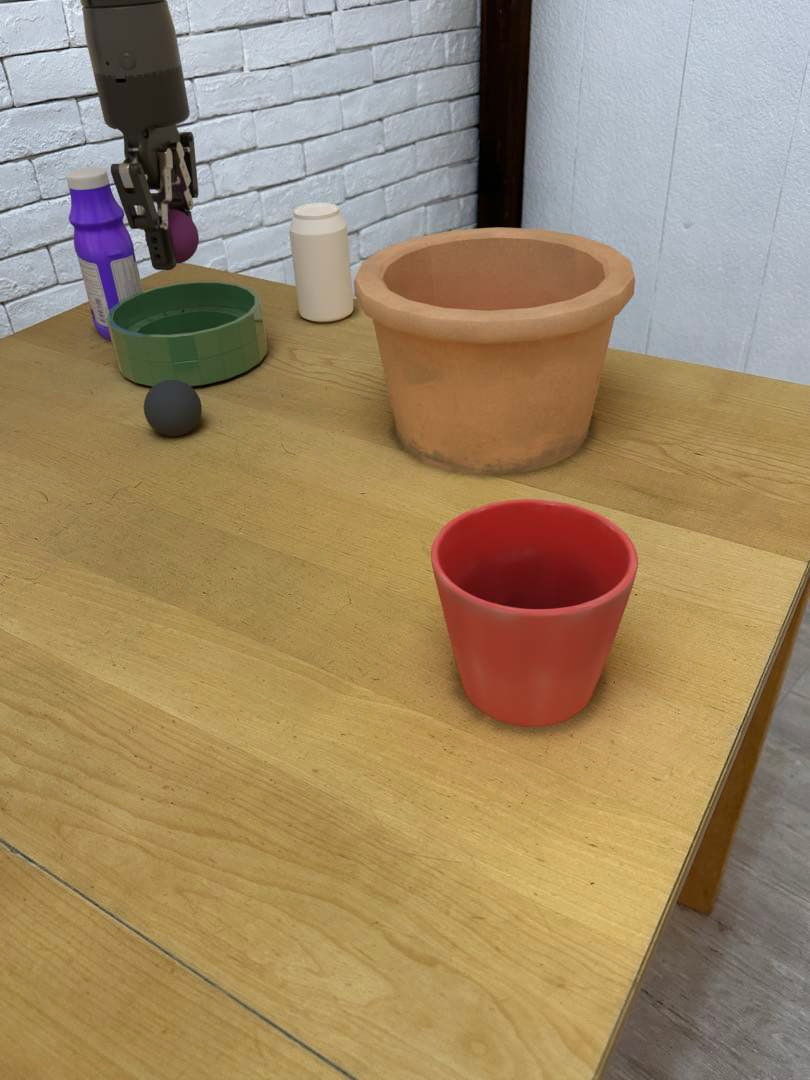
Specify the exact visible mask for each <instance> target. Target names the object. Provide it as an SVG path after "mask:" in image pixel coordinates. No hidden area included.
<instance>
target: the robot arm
mask: <svg viewBox="0 0 810 1080" xmlns="http://www.w3.org/2000/svg"><path fill="white" fill-rule="evenodd" d="M79 1H80V5H81V6H82V7H81V11H82V17H83V27H84V35H85V41H86V47H87V51H88V57H89V60H90V64H91V68H92V73H93V78H94V81H95V86H96V91H97V95H98V100H99V104H100V108H101V112H102V117H103V121H104V123H105V125H106V126H107V127H108V128H111V129H113V130H117V131H119V132H121V133H122V135H123V153H124V154H123V155H124V160H123V161H122V162H120V163H112V164H111V165H110V175H111V177H112V180H113V183H114V186H115V189H116V192H117V194H118V198H119V200H120V203H121V206H122V209H123V211H124V216H125V218H126V220H127V223H128V226H129V228H130V229H131V230H141V231H144V236H145V235H146V239H145V241H146V240H147V243H146V245H147V244H148V246H147V248H148V249H147V250H148V253H149V258H150V262H151V266H152V268H153V269H154V270H156V271H172V270H173V269H175V268H176V267H177V265H178V264H177V263H176V258H175V253H174V248H173V243H172V238H171V233H170V228H168V209H173V210H178V211H181V212H183V213H184V214H186V215H187V216H188V217H190V219H191V220H192V221H193V214H192V211H193V209H194V200H193V199H198V197H199V194H200V193H199V192H200V191H199V181H198V172H197V171H198V169H197V159H196V158H197V157H196V148H195V137H194V133H193V132H192V131H179V130H178V126H177V125H179V124H181V123H184V122H185V121H187V120H188V118H189V117H190V114H191V113H190V105H189V100H188V94H187V89H186V83H185V77H184V71H183V65H182V59H181V55H180V49H179V48H180V47H179V44H178V43H179V42H178V36H177V33H176V28H175V24H174V21H173V18H172V14H171V12H170V7H169V3H168V0H79ZM151 191H156V192H151ZM155 204H156V205H155ZM157 212H158V214H157ZM193 222H194V221H193Z"/></svg>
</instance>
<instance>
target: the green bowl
mask: <svg viewBox="0 0 810 1080" xmlns="http://www.w3.org/2000/svg"><path fill="white" fill-rule="evenodd" d="M106 320H107V324H108V329H109V333H110V337H111V341H110V342H111V344H112V348H113V352H114V357H115V360H116V364H117V368H118V370H119V371H120V373H121V375H122V376H123V377H124V378H125V379H128V380H129V381H131V382H133V383H135V384H140V385H144V386H150V387H153V386H154V385H156V384H157V383H159V382H162V381H165V380H178V381H182V382H184V383H186V384H188V385H189V386H191V387H196V386H197V387H198V386H205V385H209V384H214V383H217V382H222V381H227V380H229V379H231V378H234V377H236V376H238V375H241V374H244V373H246V372H248V371H249V370H251V369H253V367H255V366H257V365H258V364H259V363H261V362H262V361H263V359H264V358H265V356H266V355H267V354H268V341H267V334H266V333H267V332H266V326H265V321H264V320H265V319H264V312H263V305H262V298H261V295H260V294H259V293H258V292H256V291H255V289H253V288H251V287H249V286H246V285H244V284H240V283H236V282H235V283H234V282H228V281H221V280H195V281H194V280H193V281H184V282H177V283H170V284H165V285H161V286H156V287H152V288H149V289H146V290H143V291H142V292H139V293H136V294H134V295H132V296H130V297H128V298H126V299H124V300H122V301H120V302H118V303H117V304H116V305H115V306H114V307H113V308H111V309H110V310H109V313H108V316H107V319H106Z"/></svg>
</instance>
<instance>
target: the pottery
mask: <svg viewBox="0 0 810 1080" xmlns="http://www.w3.org/2000/svg"><path fill="white" fill-rule="evenodd" d="M635 286H636V278H635V272H634V269H633V266H632V262H631V259H629V258H628V257H627V256H625V255H624V254H622V253H621V252H620V251H618V250H617V249H615V248H614V247H612V246H611V245H608V244H606V243H604V242H603V243H602V242H600V241H597V240H594V239H590V238H588V237H585V236H581V235H578V234H574V233H567V232H561V231H554V230H547V229H541V228H522V227H497V226H495V227H483V228H482V227H481V228H480V227H479V228H468V229H466V228H465V229H454V230H448V231H443V232H438V233H432V234H426V235H421V236H416V237H413V238H410V239H407V240H404V241H402V242H401V241H400V242H398V243H395V244H392V245H390V246H386V247H384V248H382V249H381V250H378V252H376V253H374V254H373V255H371V256H369V257H368V258H366V259H365V260H363V261H362V262H361V264H360V266H359V267H358V271H357V273H356V275H355V277H354V279H353V290H354V296H355V298H356V300H357V303H358V304H359V305H360V308H361V309H362V311H363V313H364V315H365V316H367V317H369V318H370V319H372V323H373V326H374V331H375V336H376V341H377V346H378V349H379V354H380V355H379V356H380V360H381V365H382V369H383V373H384V377H385V383H386V387H387V392H388V393H387V394H388V397H389V401H390V406H391V412H392V416H393V421H394V425H395V434H396V436H397V437H398V439H399V442H400V444H401V445H402V446H401V447H402V448H403V449H404V450H405V451H407V452H408V453H410V454H411V455H413V456H414V457H415V458H417V459H418V460H419V461H421V462H422V463H425V464H428V465H431V466H434V467H437V468H440V469H444V470H446V471H449V472H452V473H462V474H468V475H469V474H471V475H478V476H479V475H480V476H487V477H489V476H501V475H514V474H516V475H517V474H525V473H528V472H529V473H530V472H532V471H536V470H539V469H543V468H547V467H550V466H555V465H556V464H558V463H560V462H561V461H563V460H564V459H567V458H568V457H570V456H572V455H573V454H575V453H576V452H578V451H579V449H580V448H581V446H582V445H583V443H584V442H585V440H586V439H587V437H589V428H590V424H591V420H592V416H593V411H594V407H595V403H596V399H597V395H598V390H599V386H600V382H601V378H602V374H603V370H604V369H603V368H604V365H605V361H606V356H607V352H608V348H609V343H610V341H611V340H610V339H611V335H612V331H613V327H614V323H615V319H616V316H618V315H620V313H621V312H622V311H623V310H624V308H625V307H626V305H627V304H628V303H629V302H630V300H631V299H632V298H633V296H634V294H635Z"/></svg>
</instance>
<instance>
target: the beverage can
mask: <svg viewBox="0 0 810 1080" xmlns="http://www.w3.org/2000/svg"><path fill="white" fill-rule="evenodd" d="M292 213H293V216H292V219H291V221H290V224H289V227H288V233H289V241H290V248H291V257H292V264H293V265H292V267H293V274H294V282H295V289H296V290H295V291H296V298H297V305H298V313H299V315H300V316H301V317H302V318H303V319H305V320H308V321H310V322H313V323H333V322H337V321H341V320H343V319H345V318H347V317H348V316H349V315H351V314H352V313H353V311H354V295H353V294H354V293H353V282H352V281H353V280H352V270H351V259H350V247H349V235H348V224H347V222H346V220H345V218H344V217H343V215H342V213H341V211H340V207H339V205H337V204H334V203H330V202H312V203H305V204H302V205H298V206H297V207H295V208H294V209H293V210H292Z"/></svg>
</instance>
